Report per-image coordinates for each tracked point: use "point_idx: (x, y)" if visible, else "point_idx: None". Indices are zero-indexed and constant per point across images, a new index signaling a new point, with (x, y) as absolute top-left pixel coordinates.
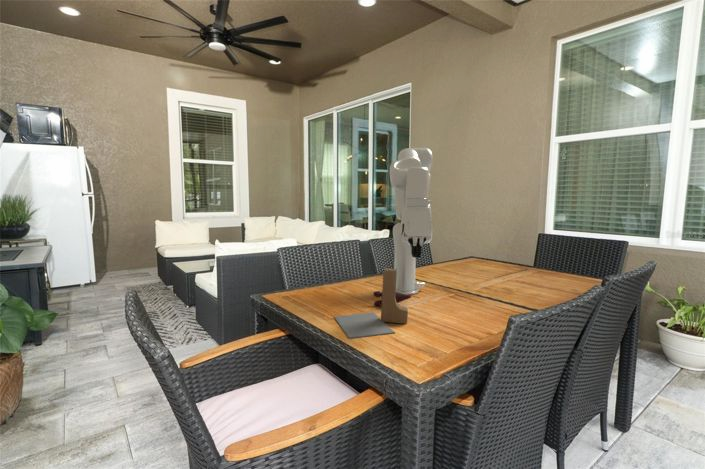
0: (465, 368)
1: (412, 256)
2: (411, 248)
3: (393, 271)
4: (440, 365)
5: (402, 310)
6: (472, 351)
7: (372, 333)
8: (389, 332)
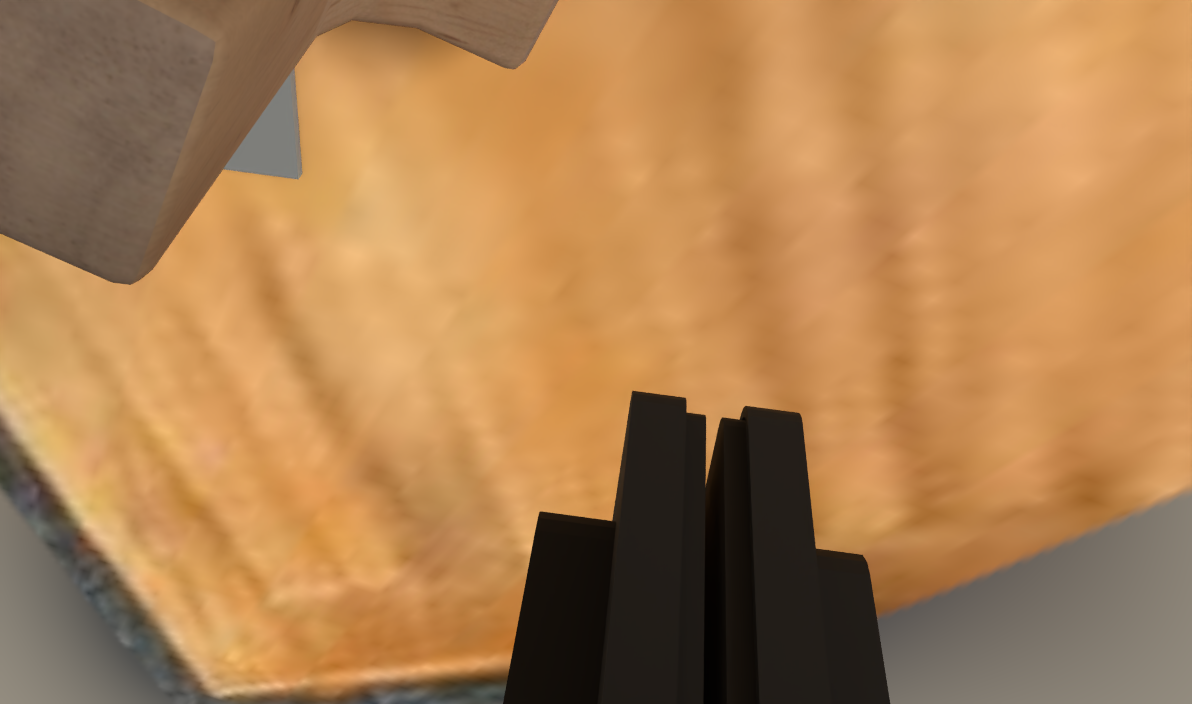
0: None
1: (631, 401)
2: (508, 682)
3: (67, 260)
4: (399, 638)
5: (452, 43)
6: None
7: None
8: (245, 167)
